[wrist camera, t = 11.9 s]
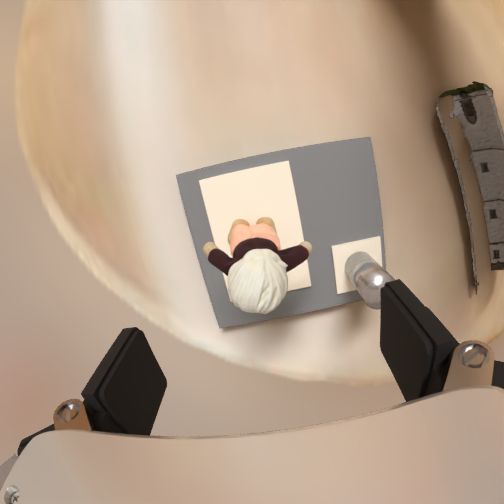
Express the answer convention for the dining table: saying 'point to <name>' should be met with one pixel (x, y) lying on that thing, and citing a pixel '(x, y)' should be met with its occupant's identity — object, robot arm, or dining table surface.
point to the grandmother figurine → (256, 264)
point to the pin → (367, 277)
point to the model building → (482, 160)
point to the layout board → (291, 219)
